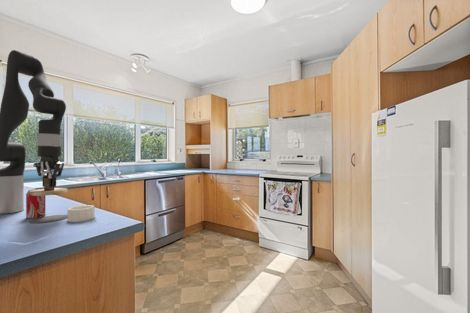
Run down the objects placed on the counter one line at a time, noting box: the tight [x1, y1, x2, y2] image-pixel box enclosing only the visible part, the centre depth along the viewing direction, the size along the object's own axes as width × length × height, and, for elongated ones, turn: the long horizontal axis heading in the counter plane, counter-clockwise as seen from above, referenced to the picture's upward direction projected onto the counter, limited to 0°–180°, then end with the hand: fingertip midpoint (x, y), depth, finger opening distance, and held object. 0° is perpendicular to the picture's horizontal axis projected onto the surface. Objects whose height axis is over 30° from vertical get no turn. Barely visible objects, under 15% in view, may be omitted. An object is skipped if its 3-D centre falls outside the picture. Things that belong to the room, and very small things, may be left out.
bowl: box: [67, 204, 96, 223], centre depth 93 cm, size 9×9×5 cm
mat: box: [28, 214, 68, 225], centre depth 93 cm, size 13×13×1 cm
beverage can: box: [25, 188, 47, 219], centre depth 96 cm, size 6×6×12 cm
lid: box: [30, 177, 68, 196], centre depth 93 cm, size 12×12×6 cm
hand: (49, 186), depth 93 cm, fingers closed on lid, 3 cm apart
